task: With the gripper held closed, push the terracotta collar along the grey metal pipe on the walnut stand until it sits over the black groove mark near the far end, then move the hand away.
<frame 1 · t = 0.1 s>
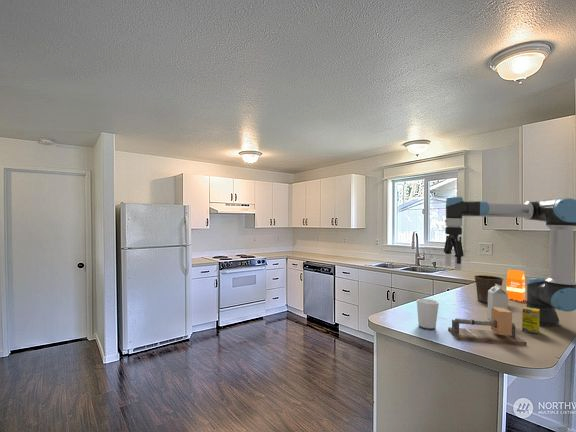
hand: (452, 268, 158), 28 cm above the table, tool pointing down, fingers open, 13 cm apart
supplement box: (530, 332, 148), on the table
collar: (501, 320, 137), point 8 cm above the table, slide at 0.0 cm
pipe stand: (485, 337, 138), on the table
plant pot: (487, 302, 203), on the table
milk carton: (497, 321, 163), on the table
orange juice: (515, 299, 211), on the table
cup: (426, 327, 149), on the table
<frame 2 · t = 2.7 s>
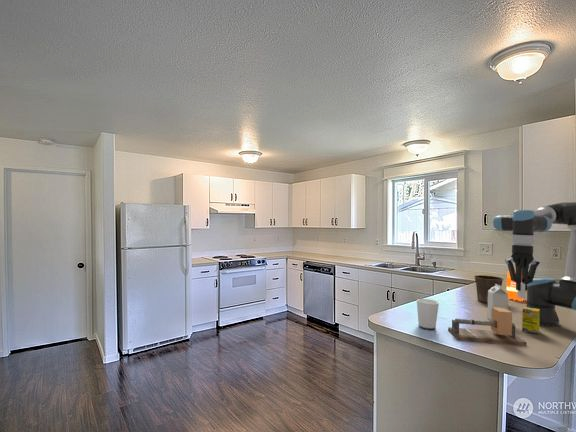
hand: (521, 298, 136), 19 cm above the table, tool pointing down, fingers closed
nothing on the table moved.
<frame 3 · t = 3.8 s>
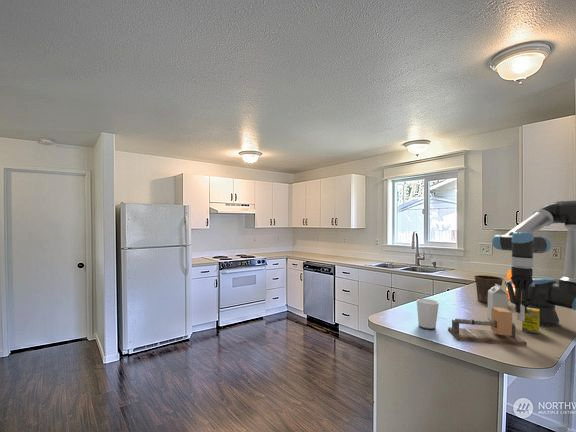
hand: (520, 320, 136), 9 cm above the table, tool pointing down, fingers closed
nothing on the table moved.
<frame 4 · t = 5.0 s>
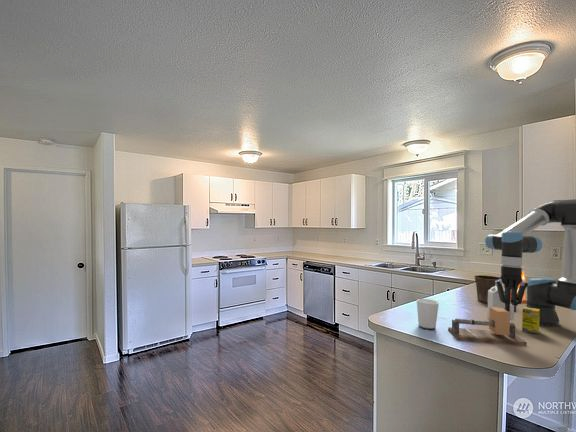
hand: (510, 319, 136), 9 cm above the table, tool pointing down, fingers closed
collar: (499, 320, 137), point 8 cm above the table, slide at 0.9 cm, touching gripper
everything else where it was.
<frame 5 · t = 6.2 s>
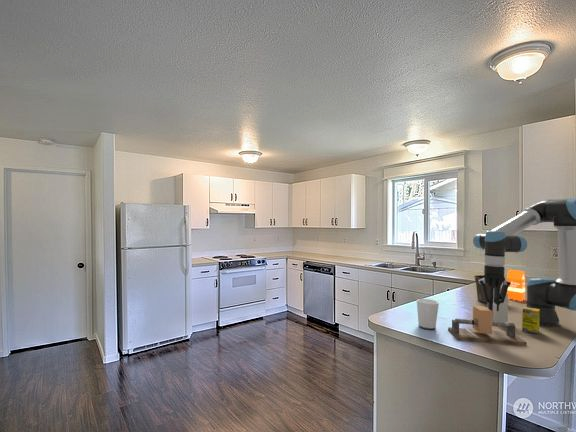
hand: (493, 318, 137), 9 cm above the table, tool pointing down, fingers closed
collar: (482, 319, 138), point 8 cm above the table, slide at 7.8 cm, touching gripper
everything else where it was.
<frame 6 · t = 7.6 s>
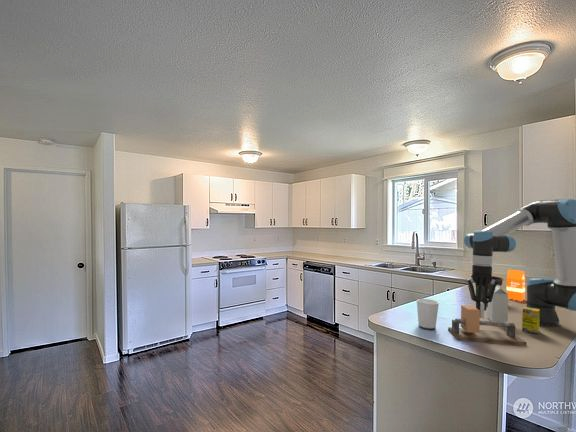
hand: (480, 317, 138), 9 cm above the table, tool pointing down, fingers closed
collar: (470, 318, 139), point 8 cm above the table, slide at 12.9 cm, touching gripper
everything else where it was.
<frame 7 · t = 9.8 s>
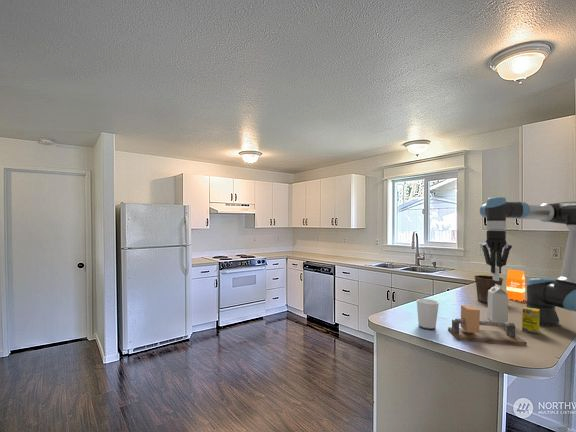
hand: (495, 280, 144), 25 cm above the table, tool pointing down, fingers closed
collar: (469, 318, 139), point 8 cm above the table, slide at 13.0 cm
everything else where it was.
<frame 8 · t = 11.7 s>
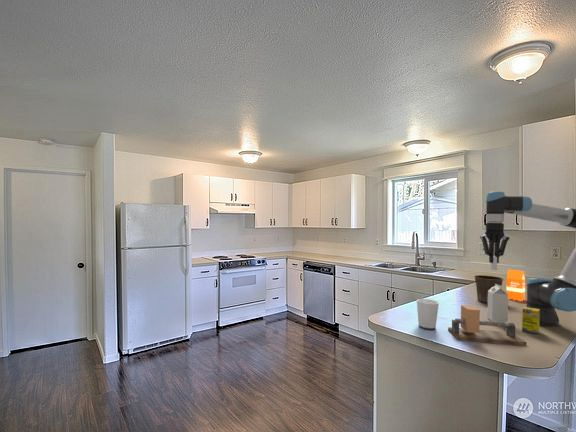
hand: (493, 269, 154), 28 cm above the table, tool pointing down, fingers closed
nothing on the table moved.
at the end: collar slide at 13.0 cm; collar 1.0 cm from the target spot on the pipe stand, point 8.0 cm above the pipe stand's base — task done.
